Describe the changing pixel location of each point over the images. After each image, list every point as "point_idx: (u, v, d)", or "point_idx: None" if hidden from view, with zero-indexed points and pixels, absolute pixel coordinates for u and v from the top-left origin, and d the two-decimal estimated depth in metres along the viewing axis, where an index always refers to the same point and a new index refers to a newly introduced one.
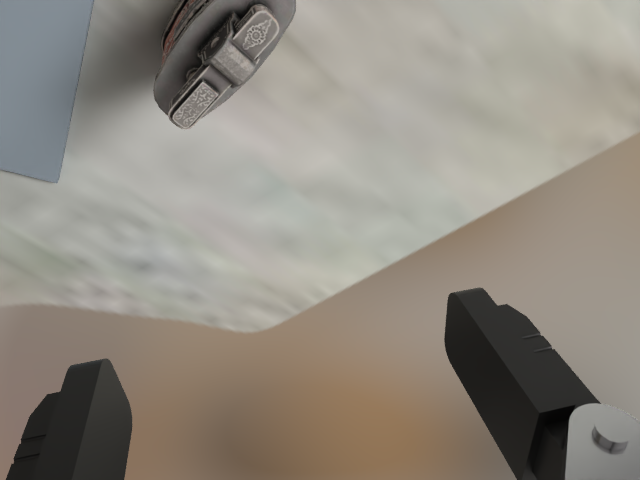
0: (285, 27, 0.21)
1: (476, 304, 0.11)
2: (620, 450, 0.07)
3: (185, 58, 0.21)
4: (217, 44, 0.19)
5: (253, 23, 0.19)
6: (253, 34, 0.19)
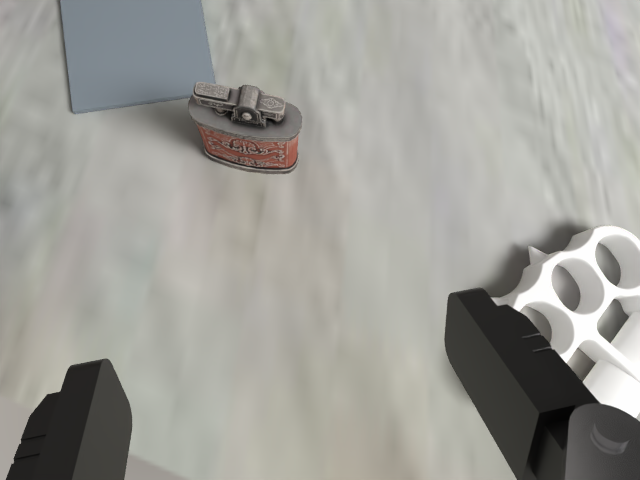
0: (279, 136, 0.34)
1: (476, 304, 0.11)
2: (620, 450, 0.07)
3: None
4: None
5: (275, 98, 0.32)
6: (270, 101, 0.32)
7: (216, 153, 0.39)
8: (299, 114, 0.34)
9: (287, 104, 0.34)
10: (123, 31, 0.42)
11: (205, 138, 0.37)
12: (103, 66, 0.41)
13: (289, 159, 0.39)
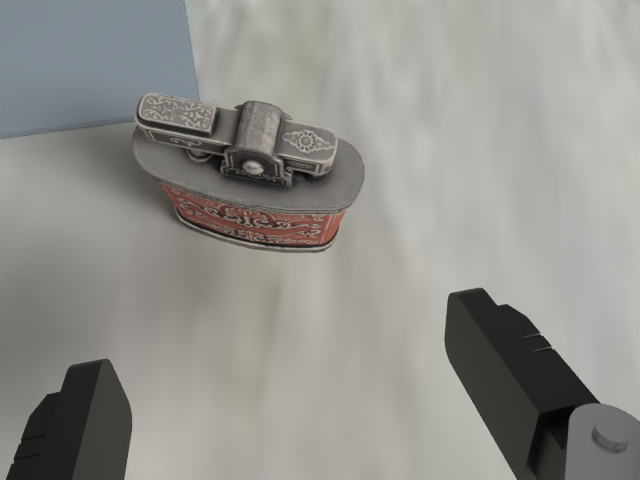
0: (319, 206, 0.16)
1: (476, 304, 0.11)
2: (620, 450, 0.07)
3: None
4: None
5: (316, 131, 0.15)
6: (305, 137, 0.15)
7: (196, 220, 0.22)
8: (359, 160, 0.17)
9: None
10: (44, 6, 0.25)
11: (173, 198, 0.20)
12: (6, 63, 0.24)
13: (328, 235, 0.21)
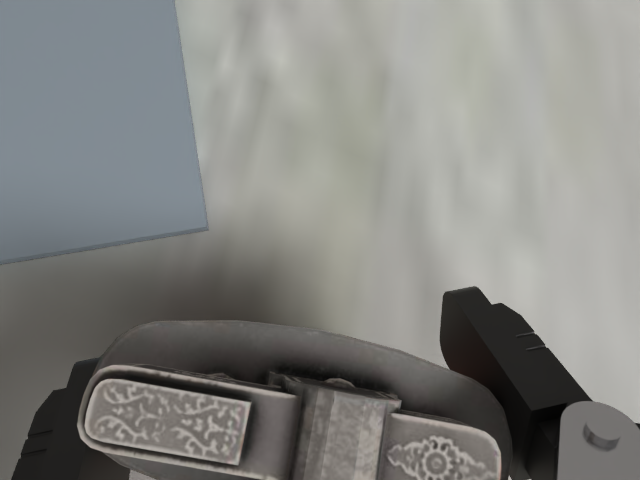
0: None
1: (470, 303, 0.11)
2: (611, 447, 0.07)
3: (244, 353, 0.09)
4: (345, 389, 0.08)
5: (455, 439, 0.07)
6: (434, 455, 0.07)
7: None
8: (502, 419, 0.09)
9: (456, 379, 0.09)
10: None
11: None
12: None
13: None
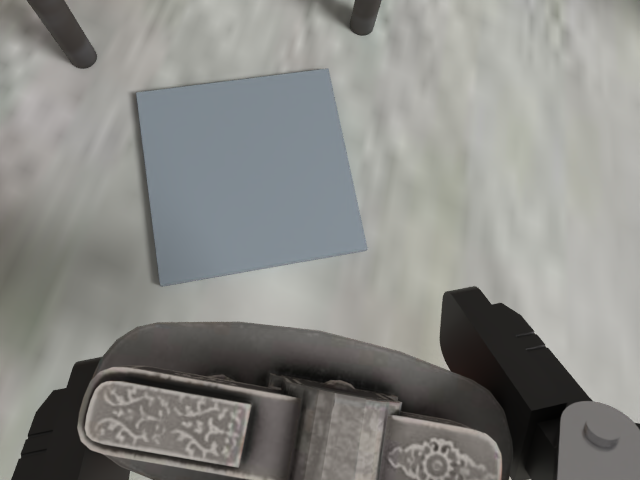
0: None
1: (470, 303, 0.11)
2: (611, 447, 0.07)
3: (245, 355, 0.09)
4: (346, 392, 0.07)
5: (456, 441, 0.07)
6: (435, 457, 0.07)
7: None
8: (502, 421, 0.09)
9: (456, 381, 0.09)
10: (230, 159, 0.29)
11: None
12: (203, 213, 0.28)
13: None
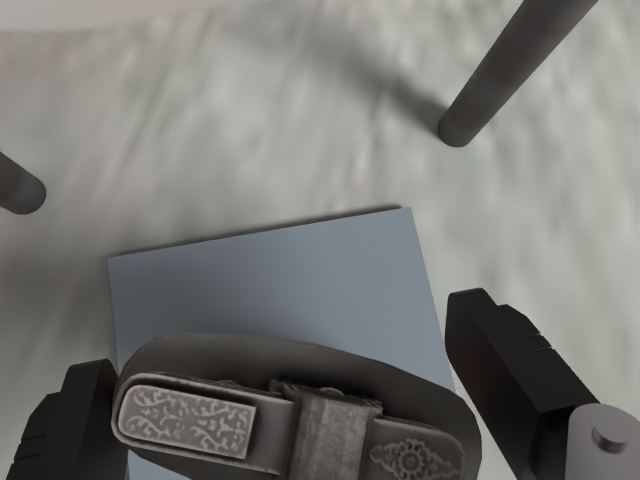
0: None
1: (476, 304, 0.11)
2: (620, 450, 0.07)
3: (249, 363, 0.11)
4: (336, 397, 0.09)
5: (427, 442, 0.08)
6: (408, 455, 0.08)
7: None
8: (473, 425, 0.11)
9: (434, 389, 0.11)
10: None
11: None
12: None
13: None
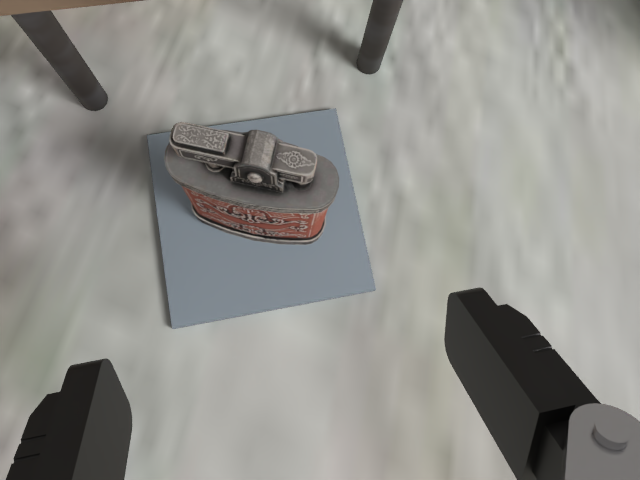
0: (304, 207, 0.22)
1: (476, 304, 0.11)
2: (620, 450, 0.07)
3: None
4: None
5: (301, 152, 0.20)
6: (293, 156, 0.20)
7: (209, 216, 0.27)
8: (335, 173, 0.22)
9: (317, 157, 0.22)
10: None
11: (192, 199, 0.25)
12: (214, 255, 0.28)
13: (314, 230, 0.27)
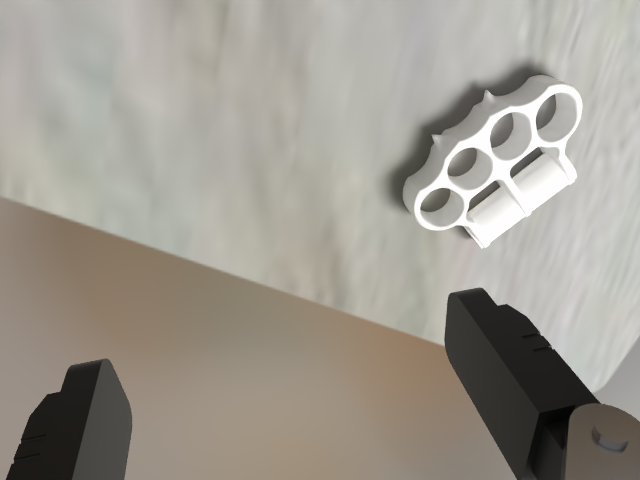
0: None
1: (476, 304, 0.11)
2: (620, 450, 0.07)
3: None
4: None
5: None
6: None
7: None
8: None
9: None
10: None
11: None
12: None
13: None
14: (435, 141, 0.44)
